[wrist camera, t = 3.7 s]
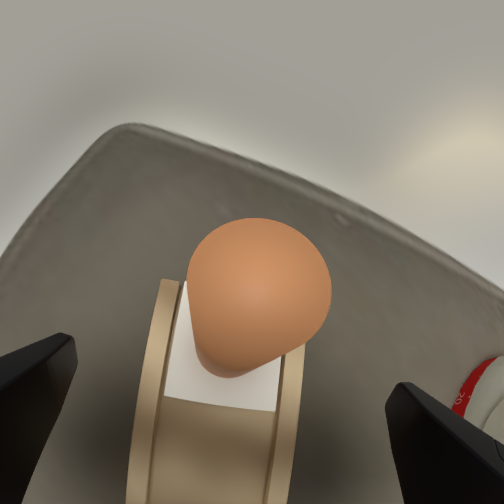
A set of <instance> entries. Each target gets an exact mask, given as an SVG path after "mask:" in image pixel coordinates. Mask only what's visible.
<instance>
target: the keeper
mask: <svg viewBox="0 0 504 504" xmlns="http://www.w3.org/2000/svg"><path fill="white" fill-rule="evenodd" d="M331 294H332V291H331V280H330V275H329V272H328V269H327V266H326V264H325V261H324V259H323V258H322V256H321V254H320V253H319V251H318V250H317V249H316V247H315V246H314V245H313V244H312V243H311V242H310V241H309V240H308V239H307V238H306V237H305V236H304V235H302V234H301V233H300V232H298V231H297V230H295V229H294V228H292V227H290V226H288V225H286V224H283V223H280V222H277V221H273V220H269V219H262V218H247V219H240V220H235V221H232V222H229V223H226V224H224V225H222V226H220V227H218V228H217V229H215V230H214V231H212V232H211V233H210V234H209V235H208V236H206V237H205V238H204V239H203V241H202V242H201V243H200V244H199V245H198V247H197V249H196V250H195V252H194V254H193V256H192V258H191V260H190V264H189V267H188V272H187V281H185V283H184V288H183V293H182V298H181V303H180V307H179V312H178V317H177V323H176V328H175V333H174V338H173V344H172V349H171V355H170V361H169V366H168V372H167V378H166V384H165V391H164V396H168V397H173V398H178V399H184V400H189V401H195V402H201V403H207V404H213V405H220V406H227V407H235V408H243V409H252V410H262V411H274V412H275V410H276V402H277V393H278V384H279V374H280V365H281V356H282V355H284V354H286V353H288V352H290V351H292V350H294V349H296V348H298V347H300V346H301V345H303V344H304V343H306V342H307V341H308V340H310V339H311V338H312V337H313V336H314V335H315V334H316V332H317V331H318V330H319V328H320V327H321V326H322V324H323V322H324V320H325V319H326V316H327V313H328V311H329V307H330V303H331Z"/></svg>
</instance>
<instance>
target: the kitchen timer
mask: <svg viewBox="0 0 504 504" xmlns="http://www.w3.org/2000/svg"><path fill="white" fill-rule="evenodd" d="M452 411H454V412H455V413H457V414H458V415H460V416H461V417H463V418H464V419H466V420H467V421H469V422H470V423H472V424H473V425H475V426H476V427H478V428H479V429H481V430H482V431H484V432H485V433H487V434H488V435H490V436H491V437H493V438H494V439H496V440H497V441H499V442H500V443H502V444H503V445H504V355H503V356H500V357H497V358H493V359H490V360H487V361H484V362H483V363H482V364H481V365H480V366H478V367H477V368H476V369H475V370H474V371H473V372H472V373H471V375H470V376H469V378H468V379H467V380H466V382H465V383H464V385H463V386H462V388H461V390H460V392H459V394H458V397H457V399H456V401H455V403H454V405H453V408H452Z"/></svg>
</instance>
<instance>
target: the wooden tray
mask: <svg viewBox="0 0 504 504" xmlns="http://www.w3.org/2000/svg"><path fill="white" fill-rule="evenodd" d="M182 293H183V289H182V288H181V286H180V282H178V281H172V280H167V279H161V283H160V287H159V292H158V296H157V300H156V305H155V309H154V314H153V318H152V323H151V328H150V332H149V337H148V342H147V347H146V352H145V358H144V363H143V369H142V374H141V380H140V386H139V392H138V398H137V405H136V411H135V418H134V425H133V433H132V441H131V449H130V458H129V468H128V479H127V491H126V504H287V498H288V491H289V485H290V478H291V471H292V464H293V457H294V450H295V442H296V434H297V425H298V416H299V407H300V398H301V388H302V377H303V365H304V353H305V343H304V344H303V345H301V346H300V347H298V348H296V349H294V350H292V351H290V352H288V353H286V354H284V355H282V356H281V365H280V374H279V384H278V393H277V402H276V410H275V412H274V411H262V410H252V409H243V408H235V407H227V406H220V405H213V404H207V403H201V402H195V401H189V400H184V399H178V398H173V397H168V396H164V391H165V384H166V378H167V372H168V366H169V361H170V355H171V349H172V344H173V338H174V333H175V328H176V323H177V317H178V312H179V307H180V303H181V298H182Z"/></svg>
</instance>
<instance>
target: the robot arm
mask: <svg viewBox="0 0 504 504" xmlns="http://www.w3.org/2000/svg"><path fill="white" fill-rule="evenodd" d="M77 364H78V359H77V353H76V347H75V341H74V338H73V337H72V336H70V335H67V334H64V333H57V334H54V335H52V336H50V337H47V338H45V339H42V340H40V341H38V342H35V343H33V344H30V345H28V346H25V347H23V348H21V349H18V350H16V351H13V352H11V353H9V354H6V355H4V356H1V357H0V504H21V503H22V501H23V498H24V495H25V492H26V490H27V487H28V485H29V482H30V479H31V477H32V474H33V472H34V470H35V467H36V465H37V462H38V460H39V458H40V455H41V453H42V451H43V448H44V446H45V444H46V442H47V439H48V437H49V435H50V433H51V431H52V429H53V427H54V424H55V422H56V420H57V418H58V416H59V414H60V411H61V409H62V406H63V404H64V401H65V398H66V395H67V392H68V389H69V387H70V384H71V381H72V379H73V376H74V374H75V371H76V368H77ZM385 413H386V418H387V424H388V430H389V437H390V443H391V449H392V454H393V458H394V462H395V466H396V470H397V474H398V478H399V482H400V487H401V491H402V496H403V500H404V504H504V445H503V444H502V443H500V442H499V441H497V440H496V439H494V438H493V437H491V436H490V435H488V434H487V433H485V432H484V431H482V430H481V429H479V428H478V427H476V426H475V425H473V424H472V423H470V422H469V421H467V420H466V419H464V418H463V417H461V416H460V415H458V414H457V413H455V412H454V411H452V410H451V409H449V408H448V407H446V406H445V405H443V404H442V403H440V402H439V401H437V400H436V399H435V398H433V397H432V396H430V395H429V394H427V393H426V392H424V391H423V390H421V389H420V388H418V387H417V386H415V385H414V384H413V383H410V382H400V383H398V384H397V385H396V386H395V388H394V390H393V391H392V393H391V395H390V396H389V398H388V400H387V401H386V404H385Z"/></svg>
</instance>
